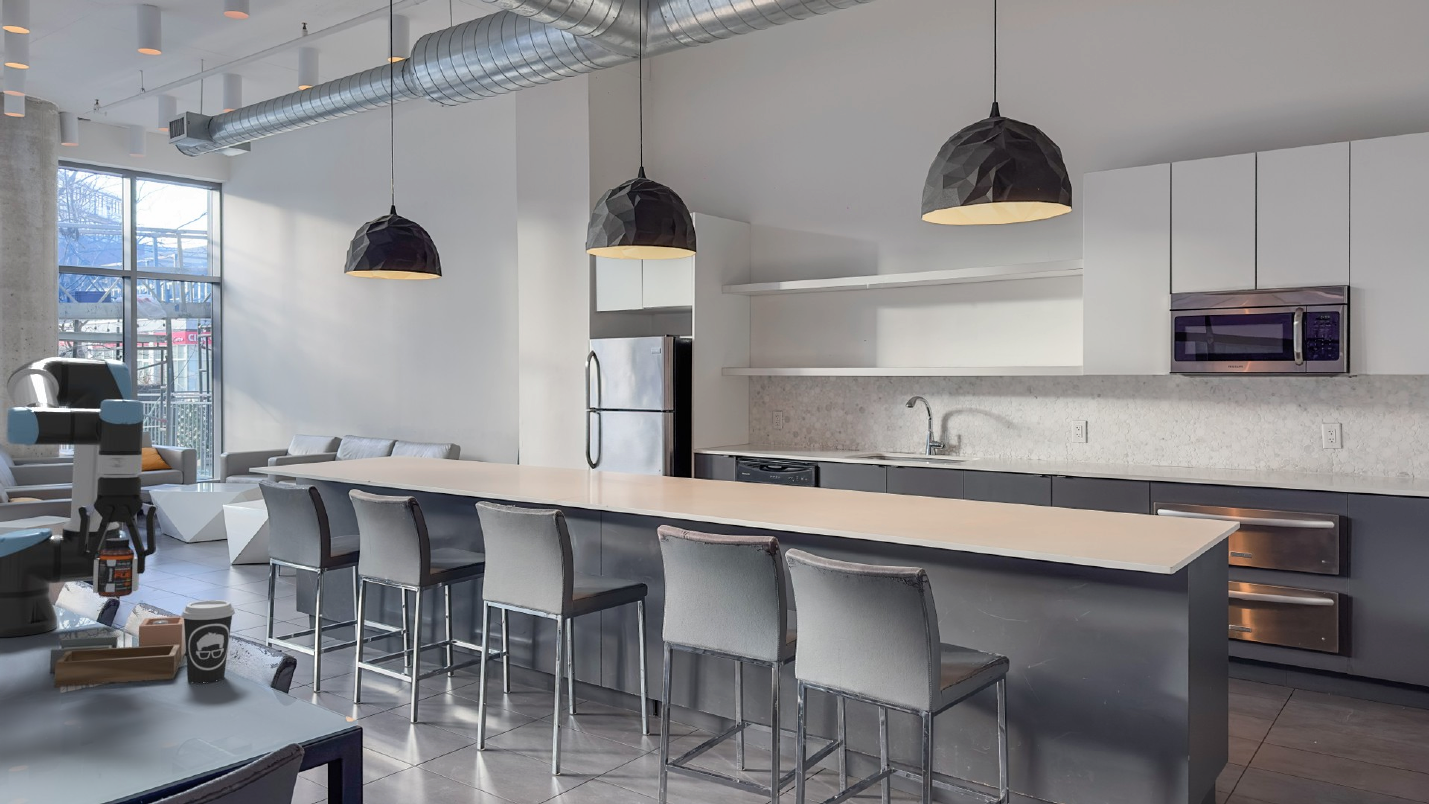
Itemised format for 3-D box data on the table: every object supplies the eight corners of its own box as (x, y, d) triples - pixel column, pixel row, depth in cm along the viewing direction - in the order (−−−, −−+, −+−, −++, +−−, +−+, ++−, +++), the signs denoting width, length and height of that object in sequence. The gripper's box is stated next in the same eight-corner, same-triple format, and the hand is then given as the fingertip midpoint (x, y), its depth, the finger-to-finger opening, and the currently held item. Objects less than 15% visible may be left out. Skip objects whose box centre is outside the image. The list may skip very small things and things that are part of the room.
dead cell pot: (143, 655, 209) (144, 618, 209) (185, 652, 212) (186, 616, 212) (137, 664, 201) (139, 626, 201) (181, 661, 205) (182, 624, 205)
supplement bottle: (115, 598, 190) (117, 541, 191) (90, 596, 192) (92, 539, 192) (139, 593, 196) (141, 537, 196) (115, 591, 198) (116, 536, 198)
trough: (66, 672, 194) (67, 650, 194) (179, 665, 202) (180, 644, 202) (54, 686, 185) (55, 663, 185) (173, 678, 193) (174, 656, 193)
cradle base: (61, 660, 203) (62, 638, 203) (116, 656, 207) (117, 635, 207) (50, 672, 194) (50, 650, 194) (107, 669, 198) (108, 647, 198)
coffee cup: (242, 673, 197) (245, 600, 197) (213, 687, 188) (216, 610, 188) (198, 671, 198) (201, 598, 198) (167, 684, 189) (170, 607, 189)
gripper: (59, 477, 187) (55, 596, 187) (170, 476, 195) (166, 591, 194) (68, 474, 194) (64, 589, 194) (175, 474, 202) (172, 585, 201)
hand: (115, 590), depth 194 cm, fingers closed on supplement bottle, 6 cm apart
